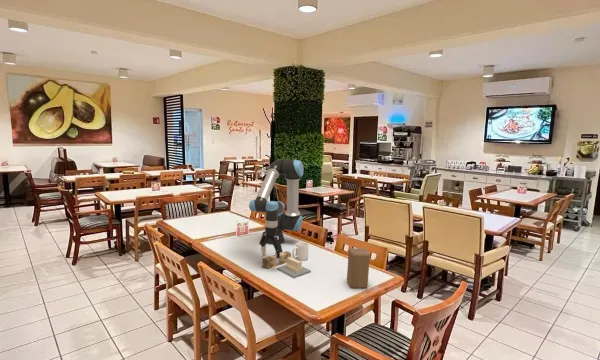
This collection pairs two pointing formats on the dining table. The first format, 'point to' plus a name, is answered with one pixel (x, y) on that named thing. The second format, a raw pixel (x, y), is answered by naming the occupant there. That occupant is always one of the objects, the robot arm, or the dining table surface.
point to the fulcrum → (293, 268)
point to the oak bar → (270, 260)
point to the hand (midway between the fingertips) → (270, 259)
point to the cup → (301, 251)
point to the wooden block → (358, 268)
